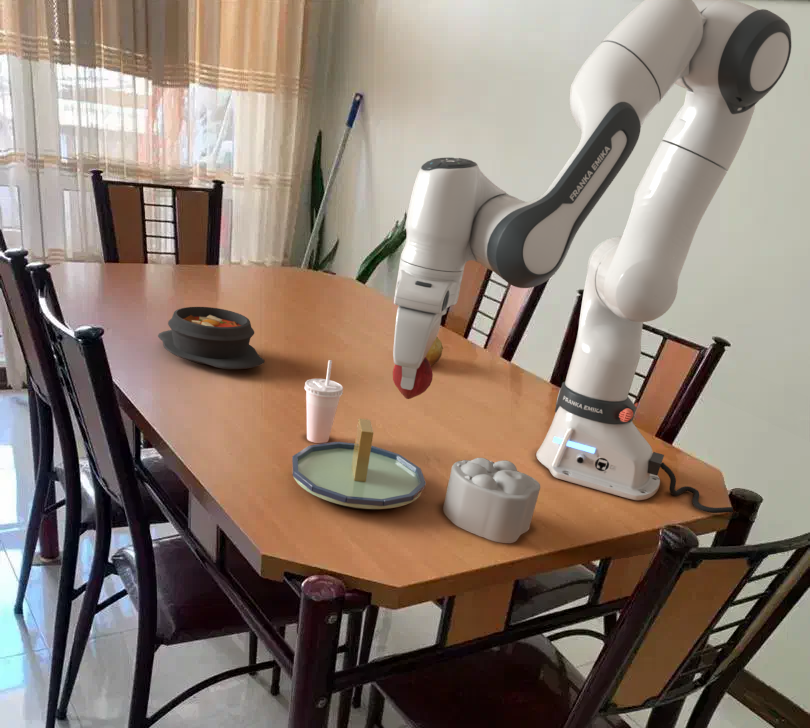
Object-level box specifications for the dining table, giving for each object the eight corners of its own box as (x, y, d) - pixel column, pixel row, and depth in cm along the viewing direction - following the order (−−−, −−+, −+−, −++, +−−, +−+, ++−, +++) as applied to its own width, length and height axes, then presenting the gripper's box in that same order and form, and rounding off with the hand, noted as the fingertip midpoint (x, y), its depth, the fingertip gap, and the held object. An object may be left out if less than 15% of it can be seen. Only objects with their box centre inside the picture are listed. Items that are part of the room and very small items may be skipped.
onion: (435, 402, 120) (445, 350, 116) (409, 408, 116) (419, 354, 112) (406, 389, 123) (416, 338, 119) (381, 394, 119) (389, 341, 115)
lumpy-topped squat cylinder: (507, 548, 114) (522, 493, 110) (429, 515, 119) (440, 462, 115) (535, 524, 122) (549, 472, 118) (460, 494, 127) (471, 444, 123)
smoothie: (321, 449, 133) (331, 368, 127) (291, 437, 136) (299, 357, 129) (343, 440, 138) (354, 361, 132) (313, 428, 141) (323, 350, 134)
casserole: (284, 371, 165) (288, 331, 161) (210, 383, 152) (212, 339, 148) (210, 335, 178) (212, 297, 174) (135, 343, 165) (135, 302, 161)
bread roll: (414, 351, 194) (420, 318, 190) (450, 363, 190) (456, 329, 186) (389, 361, 183) (394, 326, 179) (426, 373, 180) (433, 338, 176)
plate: (432, 514, 116) (443, 460, 111) (292, 502, 112) (299, 445, 107) (412, 457, 133) (421, 407, 129) (290, 444, 129) (296, 394, 125)
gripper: (417, 268, 120) (402, 358, 127) (392, 294, 103) (376, 396, 109) (458, 277, 120) (441, 366, 127) (441, 304, 102) (421, 406, 109)
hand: (411, 380), depth 118 cm, fingers closed on onion, 6 cm apart
